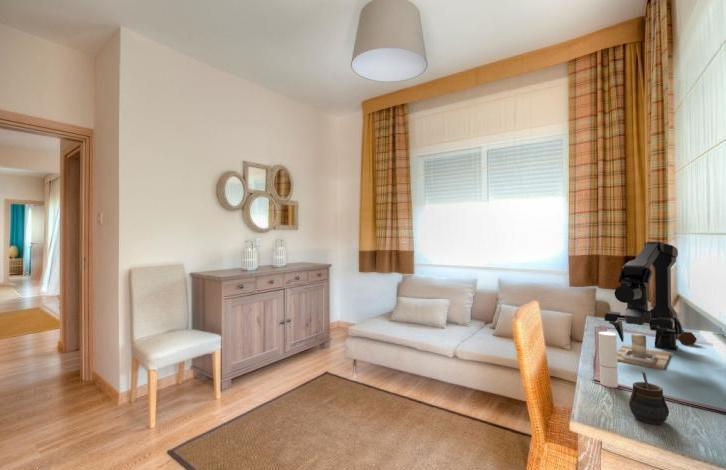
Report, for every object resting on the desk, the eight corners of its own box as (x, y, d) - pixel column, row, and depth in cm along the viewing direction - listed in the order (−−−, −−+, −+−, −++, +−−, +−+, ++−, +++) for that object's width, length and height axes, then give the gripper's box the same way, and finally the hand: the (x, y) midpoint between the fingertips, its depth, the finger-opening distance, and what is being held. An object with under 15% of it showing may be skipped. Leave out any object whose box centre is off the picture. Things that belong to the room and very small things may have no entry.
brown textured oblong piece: (676, 339, 150) (690, 348, 137) (663, 333, 152) (675, 341, 139) (684, 328, 149) (699, 336, 136) (671, 322, 151) (684, 329, 138)
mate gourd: (636, 425, 80) (634, 381, 80) (624, 410, 87) (622, 370, 87) (675, 430, 78) (673, 384, 78) (659, 414, 85) (657, 373, 85)
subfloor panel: (623, 346, 136) (623, 344, 136) (670, 354, 126) (670, 352, 126) (611, 359, 122) (611, 357, 122) (663, 369, 112) (663, 367, 112)
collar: (627, 352, 127) (627, 349, 127) (656, 357, 121) (656, 354, 121) (622, 358, 121) (622, 355, 121) (652, 364, 115) (652, 360, 115)
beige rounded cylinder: (633, 355, 124) (632, 333, 124) (647, 358, 121) (646, 335, 121) (631, 358, 121) (630, 335, 121) (645, 361, 118) (644, 337, 118)
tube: (618, 388, 99) (616, 336, 99) (600, 385, 102) (598, 334, 102) (617, 383, 103) (615, 332, 103) (599, 380, 105) (598, 330, 105)
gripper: (600, 299, 123) (601, 344, 122) (670, 306, 109) (671, 355, 109) (607, 295, 130) (608, 337, 130) (673, 301, 117) (675, 347, 117)
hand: (638, 344), depth 121 cm, fingers open, 9 cm apart
